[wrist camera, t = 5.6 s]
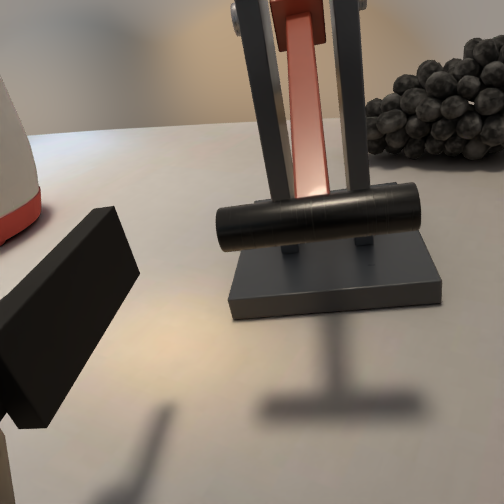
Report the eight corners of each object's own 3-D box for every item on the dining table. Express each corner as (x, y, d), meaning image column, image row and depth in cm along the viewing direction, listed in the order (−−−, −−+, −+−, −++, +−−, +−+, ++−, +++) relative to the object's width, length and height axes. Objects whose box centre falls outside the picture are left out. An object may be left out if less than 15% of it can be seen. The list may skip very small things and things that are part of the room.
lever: (416, 248, 13) (425, 200, 11) (230, 267, 15) (208, 227, 13) (361, 1, 21) (361, -54, 19) (241, 27, 22) (228, -22, 20)
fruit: (328, 53, 34) (564, 11, 26) (359, 68, 41) (553, 39, 33) (330, 166, 36) (550, 157, 28) (359, 162, 42) (543, 154, 35)
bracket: (442, 303, 20) (452, -96, 13) (232, 320, 22) (139, -18, 15) (397, 198, 30) (389, -56, 23) (257, 216, 32) (209, -13, 25)
